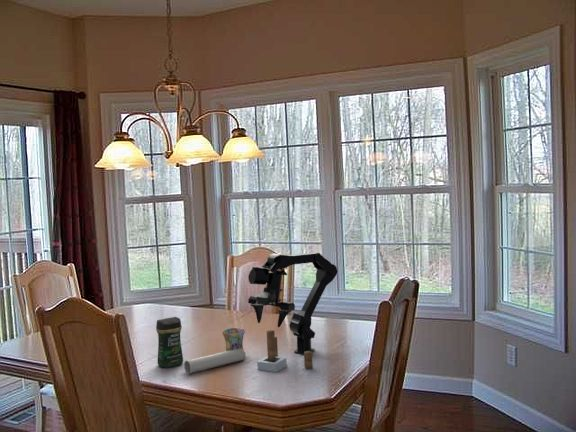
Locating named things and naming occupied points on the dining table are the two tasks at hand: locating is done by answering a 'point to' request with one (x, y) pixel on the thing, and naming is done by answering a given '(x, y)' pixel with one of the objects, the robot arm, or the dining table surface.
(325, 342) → the dining table surface
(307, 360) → the short walnut dowel
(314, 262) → the robot arm
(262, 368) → the slate collar block
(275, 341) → the medium walnut dowel
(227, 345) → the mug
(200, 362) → the tube
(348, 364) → the dining table surface
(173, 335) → the coffee jar
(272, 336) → the long walnut dowel
